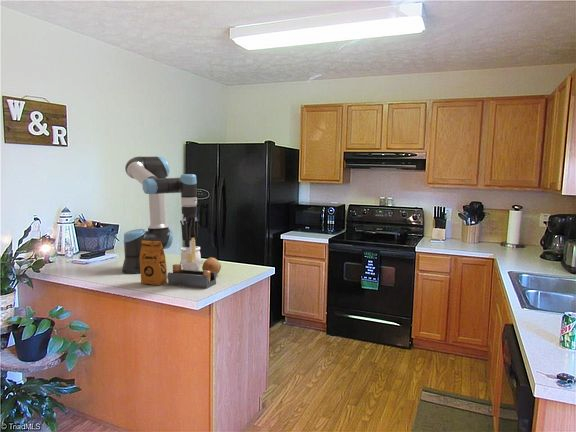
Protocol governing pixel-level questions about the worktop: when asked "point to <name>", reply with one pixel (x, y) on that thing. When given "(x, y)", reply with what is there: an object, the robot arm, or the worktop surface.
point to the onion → (212, 265)
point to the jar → (197, 258)
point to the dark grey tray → (191, 277)
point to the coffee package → (152, 263)
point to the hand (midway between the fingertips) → (190, 252)
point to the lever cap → (191, 255)
